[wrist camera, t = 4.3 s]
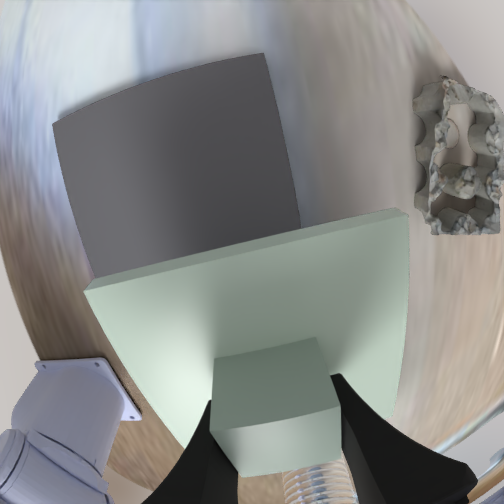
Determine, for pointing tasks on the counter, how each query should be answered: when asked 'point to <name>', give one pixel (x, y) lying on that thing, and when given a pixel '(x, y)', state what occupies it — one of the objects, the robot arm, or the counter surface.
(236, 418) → the lid
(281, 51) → the counter surface
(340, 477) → the water bottle
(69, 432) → the robot arm
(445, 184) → the egg carton
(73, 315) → the counter surface
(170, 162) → the mat
